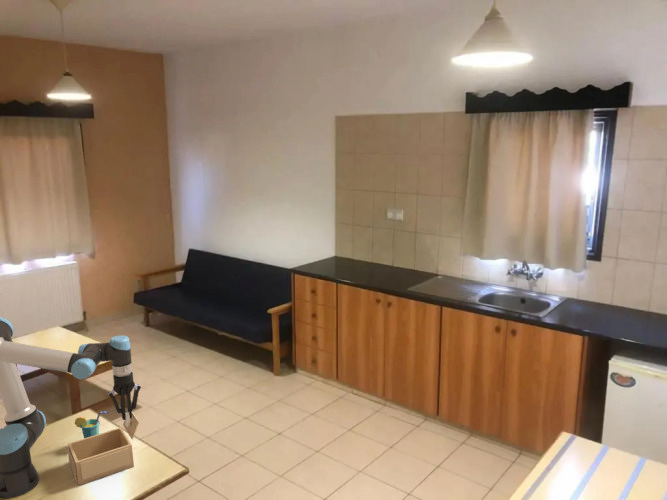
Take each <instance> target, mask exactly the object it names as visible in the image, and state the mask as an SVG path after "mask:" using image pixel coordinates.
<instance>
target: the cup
mask: <svg viewBox="0 0 667 500" xmlns="http://www.w3.org/2000/svg"><path fill="white" fill-rule="evenodd" d="M104 414H105V415H106V414H109V411H99V413H98V414H97V416H96V417H97V418H94V419H93V418H92V419H91V418H90V419H86V418H85V417H82V416H79V417H77V418H75V420H74V424H75V427H76V428H80V429H81V431H82V435H83V439H84V438H88V437H91V436H94V435H97V434H100V423H101V422H100V421H99V419H100V417H101V415H104Z"/></svg>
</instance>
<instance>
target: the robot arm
mask: <svg viewBox="0 0 667 500" xmlns="http://www.w3.org/2000/svg"><path fill="white" fill-rule="evenodd" d="M13 336H14V326H13V324H12V323H11V321H9V320H8V319H6V318H4V317H2V316H0V399H1V401H2V404H3V406H4V409H5V410H4V411H5V412H6V415H5V417H4V423H5V424H6V426H3V427H1V428H0V499H10V498H12V499H13V498H15V497H19V496H22V495H25V494H27V493H28V492H30V491H32V490H33V489H35V488H36V486H38V484H39V483H40V476H39V472H38V471H37V468H36V467H35V466H34V464H33V462H32V456H31V449H32V447H33V446H34V444H35V443H36V441H37V440H38V439H39V437H41V435H42V434H43V432H44V429H45V428H46V424H47V420H46V416H45V414H44V413H43V412H42V411H40V410H39V409H37V407H36V405H34V404H31V402H30V400H29V397H28V395H27V391H26V389H25V386H24V382H23V381H22V378H21V375H20V372H19V368H18V366H17V365H21V366H27V367H32V368H40V369H45V370H50V371H56V372H63V373H69V374H71V375H72V376H73V377H74V378H75V379H78V380H86V379H88V378H90V376H91V375H92V374H93V373H94V372H95V371H96V368H97V367H98V366H99V364H100V363H101V362H111V366H112V378H113V388H112V390H110V391H107V395H108V396H109V397H110V398H111V400H112V403H113V405H114V407H115V410H116V413H118V414H121V419H122V420H123V421H125V425H126V427H127V428H128V427H130V418H132V412H133V410H136V408H137V404H138V398H139V391H140V390H141V387H142V386H141V385H140V384H139V383H138V384H136V383H135V381H134V373H133V362H132V351H131V342H130V337H128V336H127V335H115V336H112V337H110V339H109V341H108V342H95V343H93V342H90V343H89V342H88V343H84V344H80V345H79V347H78V350H77V353H76V352H70V351H64V350H58V349H53V348H48V347H42V346H38V345H31V344H25V343H20V342H13V340H12V337H13ZM132 391H133V394H132ZM116 394H117V395H118V396H119V402H118V401H117V398H116V397H115V395H116ZM131 394H132V397H131ZM125 397H126V398H125ZM131 399H132V400H131ZM125 400H126V402H125ZM119 403H120V406H119ZM125 404H126V405H125Z"/></svg>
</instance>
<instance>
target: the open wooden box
mask: <svg viewBox="0 0 667 500" xmlns="http://www.w3.org/2000/svg"><path fill="white" fill-rule="evenodd" d="M66 448H67V456H68V457H67V458H68V463H69V467H70V468H71V471H72V474H73V477H74V479H75V481H76V483H77V485H78V487H80V486H83V485H86V484H89V483H92V482H94V481H97V480H101V479H103V478H106V477H109V476H113V475H116V474H118V473H120V472H123V471H126V470H129V469H132V468H134V467H135V465H134V455H133V445H132V443H131V441H130V440H129V438H128V437H127V435H126V433H125V431H124V430H123V429H122V427H118V428H115V429H114V428H113V429H111V430H107V431H105V432H102V433H99V434H97V435H94V436H91V437H88V438H84V437H83V438H81V439H77V440H76V441H72V442H71V441H70V442H68V443H67V446H66Z"/></svg>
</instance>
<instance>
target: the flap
mask: <svg viewBox="0 0 667 500" xmlns="http://www.w3.org/2000/svg"><path fill="white" fill-rule="evenodd" d="M139 423H140V421H139V419H138V418H137V417H136V415H135V413H134V412H133V411H132V418H130V427H128V428H127V427H126V425H125V420H123V424H122V427H123V428H124V430H125V431H126V432H127V434H128V436H129V437H130V439H131V440H133V439H134V437H135V434H136V432H137V429H138V426H139Z"/></svg>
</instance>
